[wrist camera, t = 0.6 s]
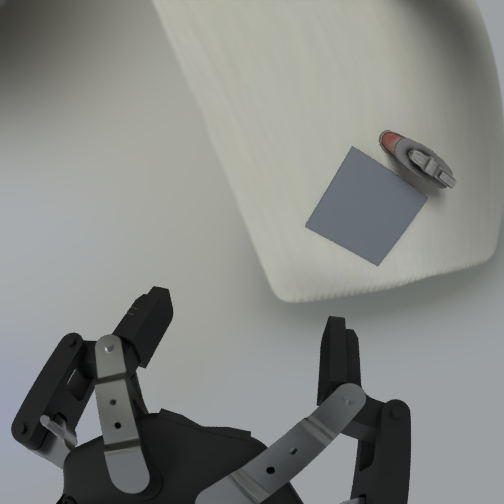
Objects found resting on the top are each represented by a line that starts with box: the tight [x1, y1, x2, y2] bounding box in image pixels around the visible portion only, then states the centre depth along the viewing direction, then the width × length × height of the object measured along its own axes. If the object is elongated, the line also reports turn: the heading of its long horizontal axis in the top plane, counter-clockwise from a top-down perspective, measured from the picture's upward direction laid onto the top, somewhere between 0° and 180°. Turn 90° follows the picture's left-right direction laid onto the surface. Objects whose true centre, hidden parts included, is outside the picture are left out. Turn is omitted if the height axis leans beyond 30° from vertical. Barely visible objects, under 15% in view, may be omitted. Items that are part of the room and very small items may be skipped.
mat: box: [305, 146, 427, 266], centre depth 35 cm, size 13×13×1 cm
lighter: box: [379, 130, 456, 188], centre depth 26 cm, size 8×3×10 cm, turn 69°
